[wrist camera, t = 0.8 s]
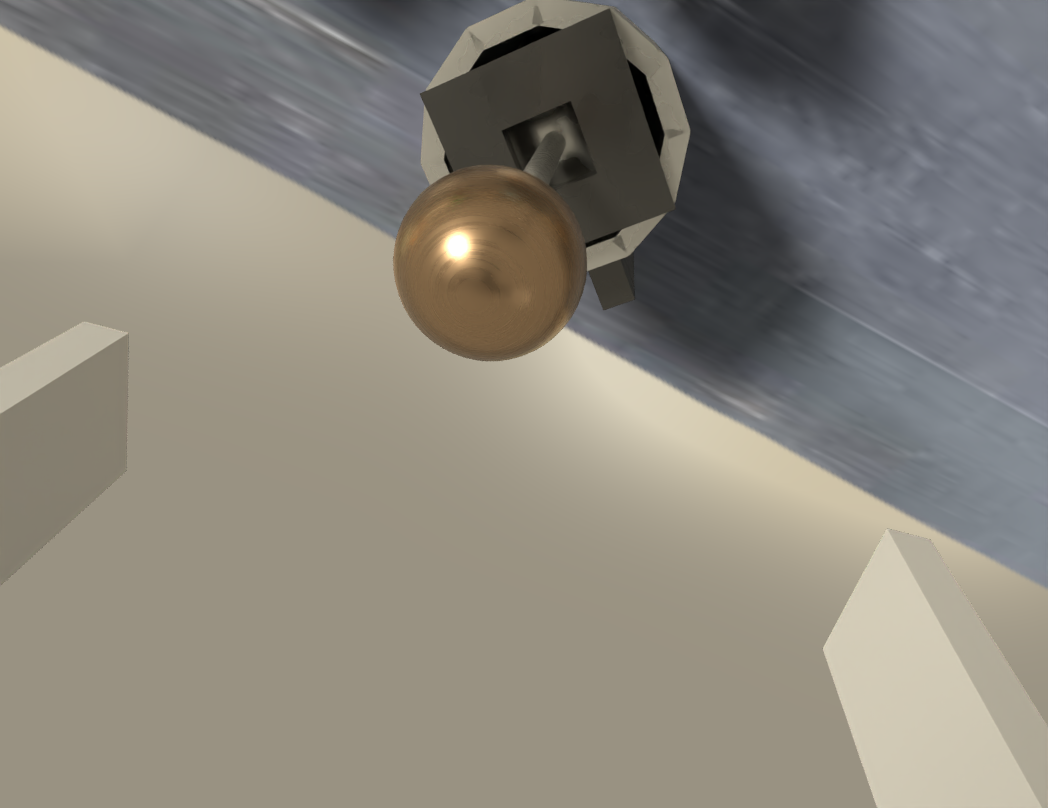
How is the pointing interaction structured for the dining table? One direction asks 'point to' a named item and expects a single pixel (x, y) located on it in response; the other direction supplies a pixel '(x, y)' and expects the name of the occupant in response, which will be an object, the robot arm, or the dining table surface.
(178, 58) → the dining table surface
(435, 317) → the plunger
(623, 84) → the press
